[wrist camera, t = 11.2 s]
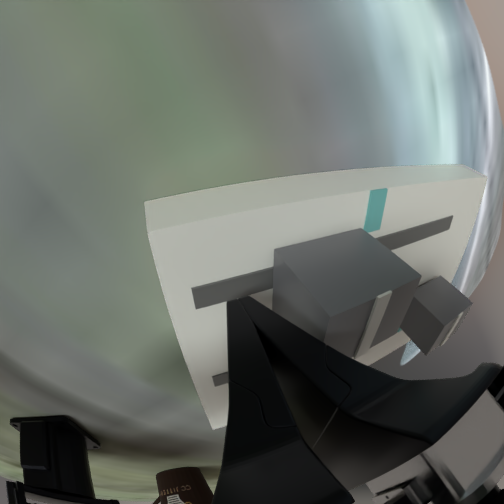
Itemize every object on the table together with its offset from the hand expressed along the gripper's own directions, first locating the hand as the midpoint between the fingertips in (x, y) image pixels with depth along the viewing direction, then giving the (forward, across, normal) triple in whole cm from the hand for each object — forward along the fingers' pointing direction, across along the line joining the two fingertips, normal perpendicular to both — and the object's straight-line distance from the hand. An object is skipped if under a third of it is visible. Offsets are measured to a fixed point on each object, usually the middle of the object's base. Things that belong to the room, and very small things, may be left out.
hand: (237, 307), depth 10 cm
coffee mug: (+4, +12, +34) cm, 36 cm away
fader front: (+1, -4, 0) cm, 4 cm away
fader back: (+1, -14, +6) cm, 15 cm away
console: (+4, -9, +5) cm, 11 cm away
